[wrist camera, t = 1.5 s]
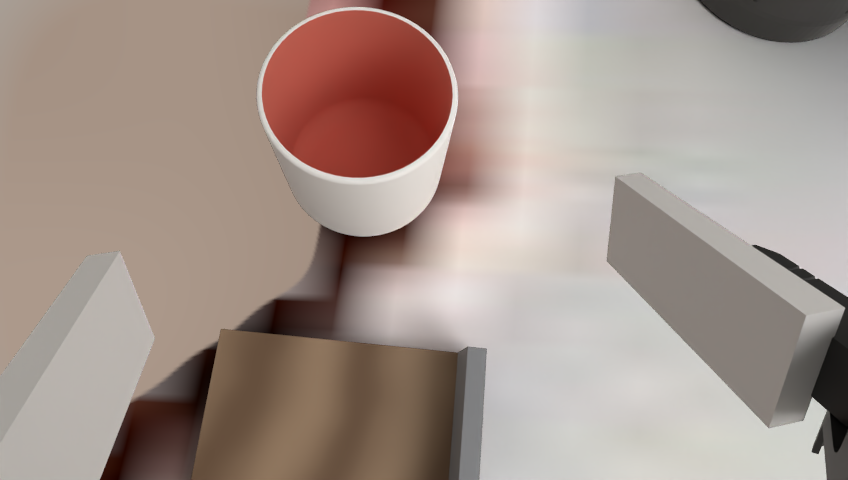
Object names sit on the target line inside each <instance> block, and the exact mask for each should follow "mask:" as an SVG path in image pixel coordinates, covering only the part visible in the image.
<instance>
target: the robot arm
mask: <svg viewBox="0 0 848 480" xmlns="http://www.w3.org/2000/svg"><path fill="white" fill-rule="evenodd" d="M701 1H702V2H703V3H704V5H705V6H706V7H707V8H709V9H710V10H711V11H712V12H713V13H714V14H715V15H717V16H718V17H719V18H721V19H722V20H724V21H725V22H727V23H728V24H730V25H732V26H733V27H735V28H737V29H739V30H741V31H743V32H746V33H748V34H751V35H753V36H756V37H760V38H763V39H768V40H773V41H779V42H803V41H809V40H813V39H817V38H820V37H823V36H825V35H827V34H829V33H831V32H833V31H834V30H836V29H837V28H839V27H840V26H841V25H842V24H844V23H845V22H846V21H847V20H848V0H701ZM607 262H608V263H609V264H610V265H611V266H612V267H613V268H614V269H615V270H616V271H617V272H618V273H619V274H620V275H621V276H622V277H623V278H624V279H625V280H626V281H627V282H628V283H629V284H630V285H631V287H632V288H633V289H634V290H635V291H636V292H637V293H638V294H639V295H640V296H641V297H642V298H643V299H644V300H645V301H646V302H647V303H648V304H649V305H650V306H651V307H652V308H653V309H654V310H655V311H656V312H657V313H658V314H659V315H660V316H661V317H662V318H663V319H664V321H665V322H666V323H667V324H668V325H669V326H670V327H671V328H672V329H673V330H674V331H675V332H676V333H677V334H678V335H679V336H680V337H681V338H682V339H683V340H684V341H685V342H686V343H687V344H688V345H689V346H690V347H691V348H692V349H693V350H694V351H695V352H696V354H697V355H698V356H699V357H700V358H701V359H702V360H703V361H704V362H705V363H706V364H707V365H708V366H709V367H710V368H711V369H712V370H713V371H714V372H715V373H716V374H717V375H718V376H719V377H720V378H721V379H722V380H723V381H724V382H725V383H726V384H727V385H728V387H729V388H730V389H731V390H732V391H733V392H734V393H735V394H736V395H737V396H738V397H739V398H740V399H741V400H742V401H743V402H744V403H745V404H746V405H747V406H748V407H749V408H750V409H751V410H752V411H753V412H754V413H755V414H756V415H757V416H758V417H759V418H760V420H761V421H762V422H763V423H764V424H765V425H766V426H767V427H768V428H772V427H776V426H781V425H785V424H790V423H794V422H799V421H803V420H804V418H805V415H806V412H807V410H808V407H809V404H810V401H811V399H812V397H813V398H814V399H815V400H816V401H817V402H819V403H820V404H821V405H822V406H823V407H824V408H825V409H827V412H826V415H825V417H824V420H823V422H822V425H821V427H820V430H819V432H818V435H817V437H816V440H815V442H814V445H813V449H812V452H813V453H816V454H819V451H820V449H821V446H824V450H825V462H826V474H827V480H848V297H846V296H845V295H843V294H842V293H840V292H839V291H837V290H835V289H834V288H832V287H831V286H829V285H828V284H826V283H824V282H823V281H821V280H820V279H815V276H814V275H812V274H810V273H809V272H807V271H806V270H804V269H799V266H798V265H796V264H795V263H793V262H792V261H790V260H788V259H787V258H785V257H784V256H782V255H781V254H778V253H776V252H773V251H771V250H768V249H765V248H763V247H760V246H757V245H752V246H751V245H750V244H748V243H747V242H745V241H744V240H742V239H741V238H739V237H738V236H736V235H734V234H733V233H731V232H730V231H728V230H727V229H725V228H724V227H722V226H721V225H719V224H718V223H716V222H715V221H713V220H712V219H710V218H709V217H707V216H706V215H704V214H703V213H701V212H700V211H698V210H697V209H695V208H694V207H692V206H691V205H689V204H688V203H686V202H685V201H683V200H682V199H680V198H679V197H677V196H676V195H674V194H673V193H671V192H669V191H668V190H666V189H665V188H663V187H662V186H660V185H659V184H657V183H656V182H654V181H653V180H651V179H650V178H648V177H647V176H645V175H644V174H642V173H635V174H628V175H621V176H615V185H614V195H613V205H612V214H611V224H610V233H609V243H608V253H607ZM154 340H155V337H154V335H153V333H152V330H151V327H150V325H149V322H148V320H147V317H146V315H145V312H144V310H143V307H142V305H141V303H140V300H139V297H138V295H137V292H136V290H135V287H134V286H133V282H132V280H131V277H130V275H129V272H128V271H127V267H126V265H125V262H124V260H123V258H122V255H121V253H120V251H116V252H109V253H102V254H95V255H89V256H86V258H85V259H84V261H83V262H82V264H81V265H80V266H79V268H78V269H77V270H76V272H75V273H74V274H73V276H72V277H71V279H70V280H69V282H68V283H67V284H66V286H65V287H64V289H63V290H62V291H61V293H60V294H59V295H58V297H57V298H56V299H55V301H54V302H53V304H52V305H51V306H50V308H49V309H48V311H47V312H46V313H45V315H44V316H43V317H42V319H41V320H40V322H39V323H38V324H37V326H36V327H35V329H34V330H33V331H32V333H31V334H30V336H29V337H28V338H27V340H26V341H25V343H24V344H23V345H22V347H21V348H20V349H19V351H18V352H17V354H16V355H15V356H14V358H13V359H12V361H11V362H10V363H9V365H8V366H7V367H6V369H5V370H4V372H3V373H2V374H1V376H0V480H100V478H101V475H102V473H103V470H104V467H105V465H106V462H107V460H108V457H109V455H110V452H111V450H112V447H113V444H114V442H115V439H116V437H117V434H118V432H119V429H120V427H121V424H122V421H123V419H124V416H125V414H126V411H127V409H128V406H129V403H130V401H131V398H132V396H133V393H134V391H135V388H136V386H137V383H138V380H139V378H140V375H141V373H142V370H143V368H144V365H145V363H146V360H147V357H148V355H149V352H150V350H151V347H152V344H153V342H154Z"/></svg>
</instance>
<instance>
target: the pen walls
mask: <svg viewBox="0 0 848 480" xmlns="http://www.w3.org/2000/svg"><path fill="white" fill-rule="evenodd" d="M486 354H487V349H486V348H476V347H467V348H465V349H463V350H462V351H460V352H458V359H457V373H456V386H455V400H454V414H453V427H452V441H451V455H450V468H449V480H479V474H480V457H481V440H482V422H483V405H484V388H485V371H486Z"/></svg>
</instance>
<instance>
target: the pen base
mask: <svg viewBox="0 0 848 480" xmlns="http://www.w3.org/2000/svg"><path fill="white" fill-rule="evenodd" d="M457 359H458V353H456V352H446V351H436V350H426V349H416V348H406V347H396V346H386V345H376V344H366V343H356V342H346V341H336V340H327V339H317V338H307V337H297V336H287V335H277V334H267V333H257V332H247V331H237V330H227V329H221V331H220V336H219V341H218V346H217V351H216V356H215V361H214V366H213V371H212V376H211V381H210V386H209V391H208V396H207V402H206V407H205V412H204V417H203V422H202V427H201V432H200V437H199V442H198V447H197V452H196V457H195V462H194V467H193V472H192V477H191V480H449V468H450V455H451V441H452V427H453V414H454V400H455V386H456V373H457Z"/></svg>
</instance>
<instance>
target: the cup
mask: <svg viewBox="0 0 848 480" xmlns="http://www.w3.org/2000/svg"><path fill="white" fill-rule="evenodd" d="M256 96H257V98H256V100H257V108H258V113H259V117H260V121H261V123H262V126H263V128H264V130H265V133H266V135H267V137H268V139H269V142H270V144H271V146H272V148H273V151H274V153H275V155H276V157H277V160H278V162H279V164H280V166H281V169H282V171H283V173H284V175H285V177H286V179H287V182H288V184H289V186H290V188H291V191H292V193H293V195H294V197H295V198H296V200H297V202H298V203H299V204H300V206H301V207H302V208H303V210H304V211H305V212H306V213H307V214H308V215H309V216H310V217H312V218H313V219H314V220H316V221H317V222H318V223H320V224H321V225H323V226H325V227H327V228H329V229H331V230H333V231H336V232H339V233H342V234H346V235H352V236H362V237H363V236H377V235H382V234H386V233H389V232H392V231H395V230H397V229H399V228H401V227H403V226H405V225H407V224H408V223H410V222H411V221H412V220H414V219H415V218H416V217H417V216H418V215H419V214H420V213H421V212H422V211H423V210H424V209H425V208H426V207H427V205H428V204H429V202H430V201H431V199H432V198H433V196H434V194H435V192H436V189H437V186H438V183H439V180H440V176H441V172H442V168H443V164H444V160H445V156H446V152H447V148H448V144H449V140H450V137H451V133H452V129H453V125H454V121H455V117H456V113H457V107H458V88H457V82H456V78H455V73H454V71H453V68H452V66H451V63H450V61H449V59H448V57H447V56H446V54H445V52H444V51H443V50H442V48H441V47H440V45H439V44H438V43H437V42H436V41H435V40H434V39H433V37H431V36H430V35H429V34H428V33H427V32H426V31H425V30H423V29H422V28H421V27H419V26H418V25H416V24H415V23H413V22H411V21H410V20H408V19H406V18H404V17H401V16H399V15H397V14H394V13H391V12H388V11H384V10H380V9H374V8H366V7H346V8H338V9H333V10H328V11H325V12H321V13H319V14H316V15H313V16H311V17H309V18H307V19H305V20H303V21H301V22H300V23H298V24H296V25H295V26H294V27H292V28H291V29H290V30H288V31H287V32H286V33H285V34H284V35H283V36H282V37H281V38H280V39H279V40H278V41H277V42H276V43H275V45H274V46H273V47H272V49H271V50H270V52H269V54H268V56H267V57H266V59H265V61H264V62H263V65H262V68H261V70H260V74H259V77H258V83H257V93H256Z"/></svg>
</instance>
